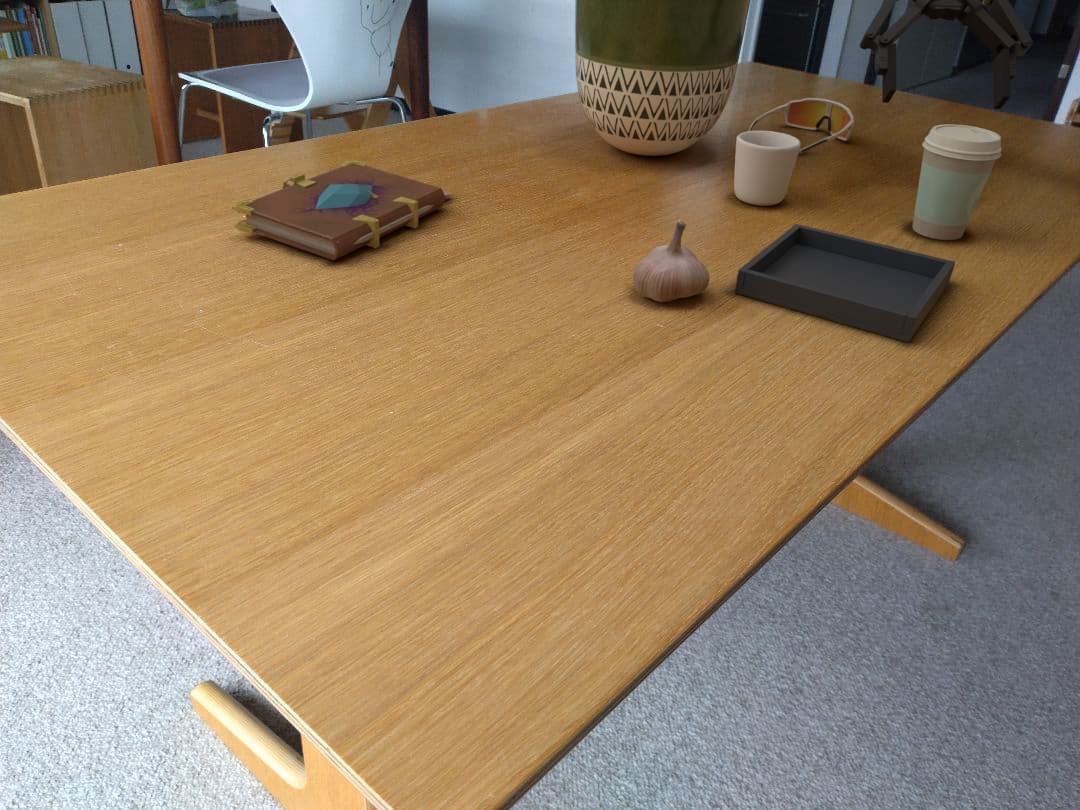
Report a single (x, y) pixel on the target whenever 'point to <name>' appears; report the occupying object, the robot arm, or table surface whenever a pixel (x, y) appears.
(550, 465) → the table surface
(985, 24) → the robot arm
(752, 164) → the cup
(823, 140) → the sunglasses
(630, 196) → the table surface
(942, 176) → the coffee cup
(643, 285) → the garlic bulb
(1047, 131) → the table surface
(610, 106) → the planter
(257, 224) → the book
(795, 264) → the slate tray
